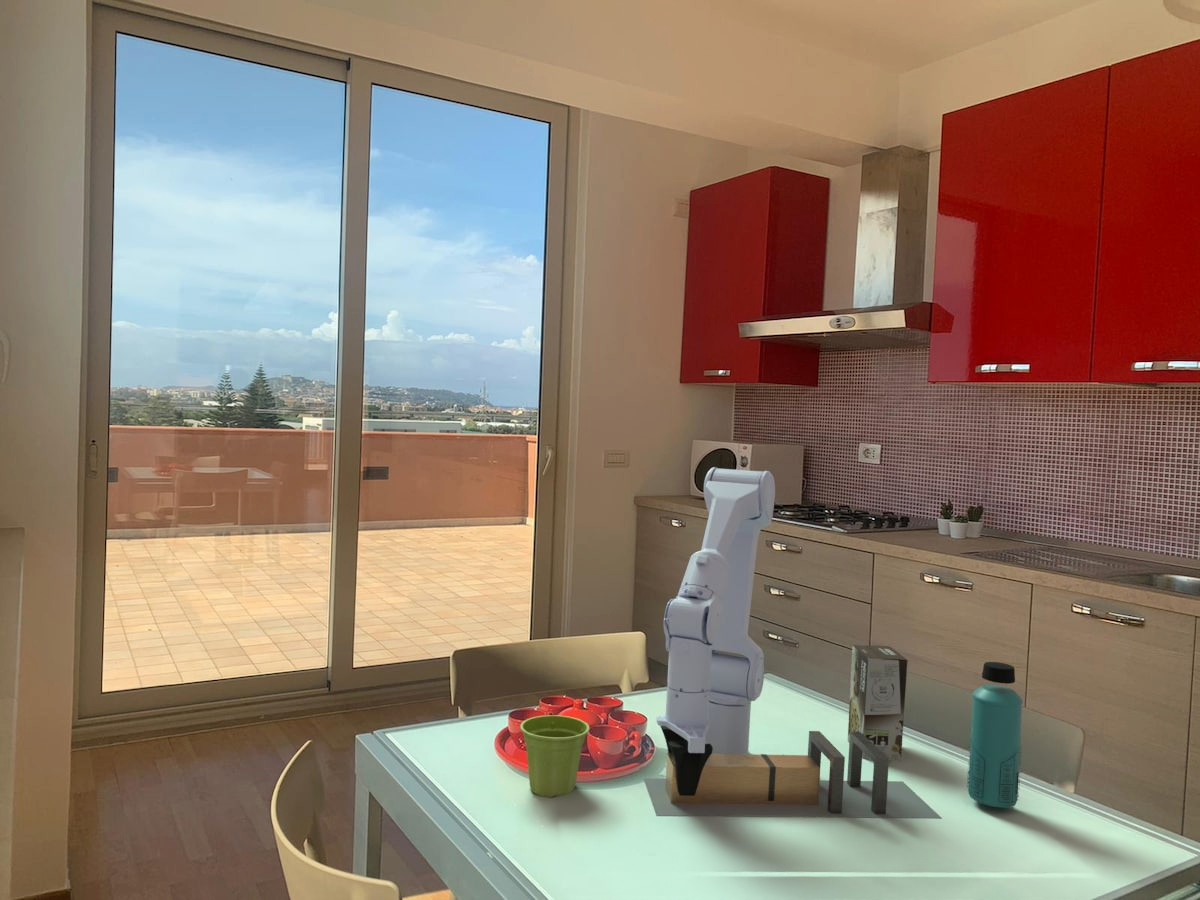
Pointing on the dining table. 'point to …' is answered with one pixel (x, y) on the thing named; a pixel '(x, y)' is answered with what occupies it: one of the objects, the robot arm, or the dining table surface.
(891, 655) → the coffee box
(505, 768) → the dining table surface
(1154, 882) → the dining table surface
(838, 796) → the collar
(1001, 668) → the beverage bottle
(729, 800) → the striped wooden beam
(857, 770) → the collar
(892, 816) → the mat
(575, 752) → the plant pot
